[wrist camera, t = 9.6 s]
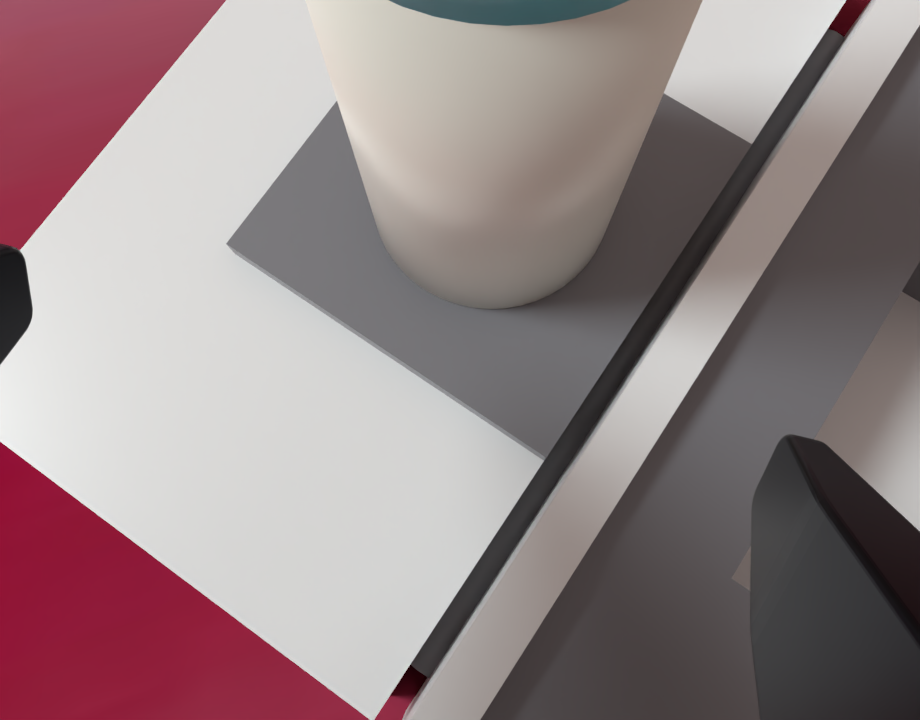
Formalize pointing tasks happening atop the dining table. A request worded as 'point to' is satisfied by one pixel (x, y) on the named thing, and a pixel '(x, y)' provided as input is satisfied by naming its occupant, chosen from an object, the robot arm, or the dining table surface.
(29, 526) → the dining table surface
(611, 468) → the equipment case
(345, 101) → the ball
